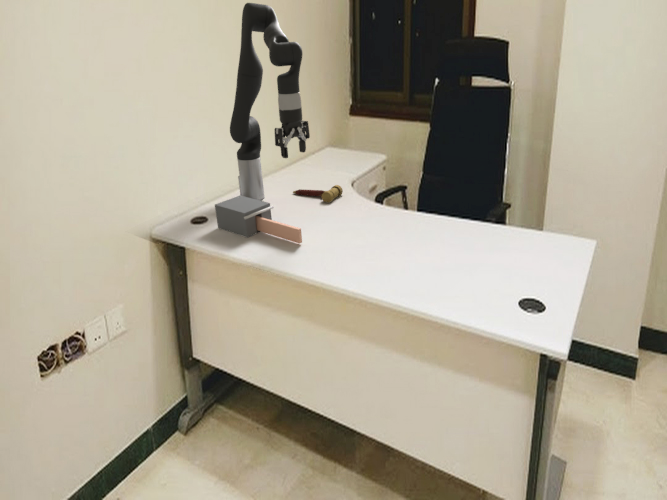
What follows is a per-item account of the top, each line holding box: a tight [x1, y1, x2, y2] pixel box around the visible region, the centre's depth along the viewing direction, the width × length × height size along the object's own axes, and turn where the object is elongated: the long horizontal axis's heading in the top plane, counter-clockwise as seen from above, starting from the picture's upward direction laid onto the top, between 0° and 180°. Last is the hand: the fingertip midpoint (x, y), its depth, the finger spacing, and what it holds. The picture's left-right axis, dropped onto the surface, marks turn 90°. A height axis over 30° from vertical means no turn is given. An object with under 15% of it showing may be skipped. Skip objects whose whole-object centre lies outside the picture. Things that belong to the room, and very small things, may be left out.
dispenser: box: [214, 195, 274, 238], centre depth 202 cm, size 17×13×9 cm
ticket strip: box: [255, 215, 303, 244], centre depth 193 cm, size 23×1×5 cm, turn 50°
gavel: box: [292, 184, 343, 203], centre depth 232 cm, size 21×5×10 cm
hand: (294, 154), depth 192 cm, fingers open, 8 cm apart
